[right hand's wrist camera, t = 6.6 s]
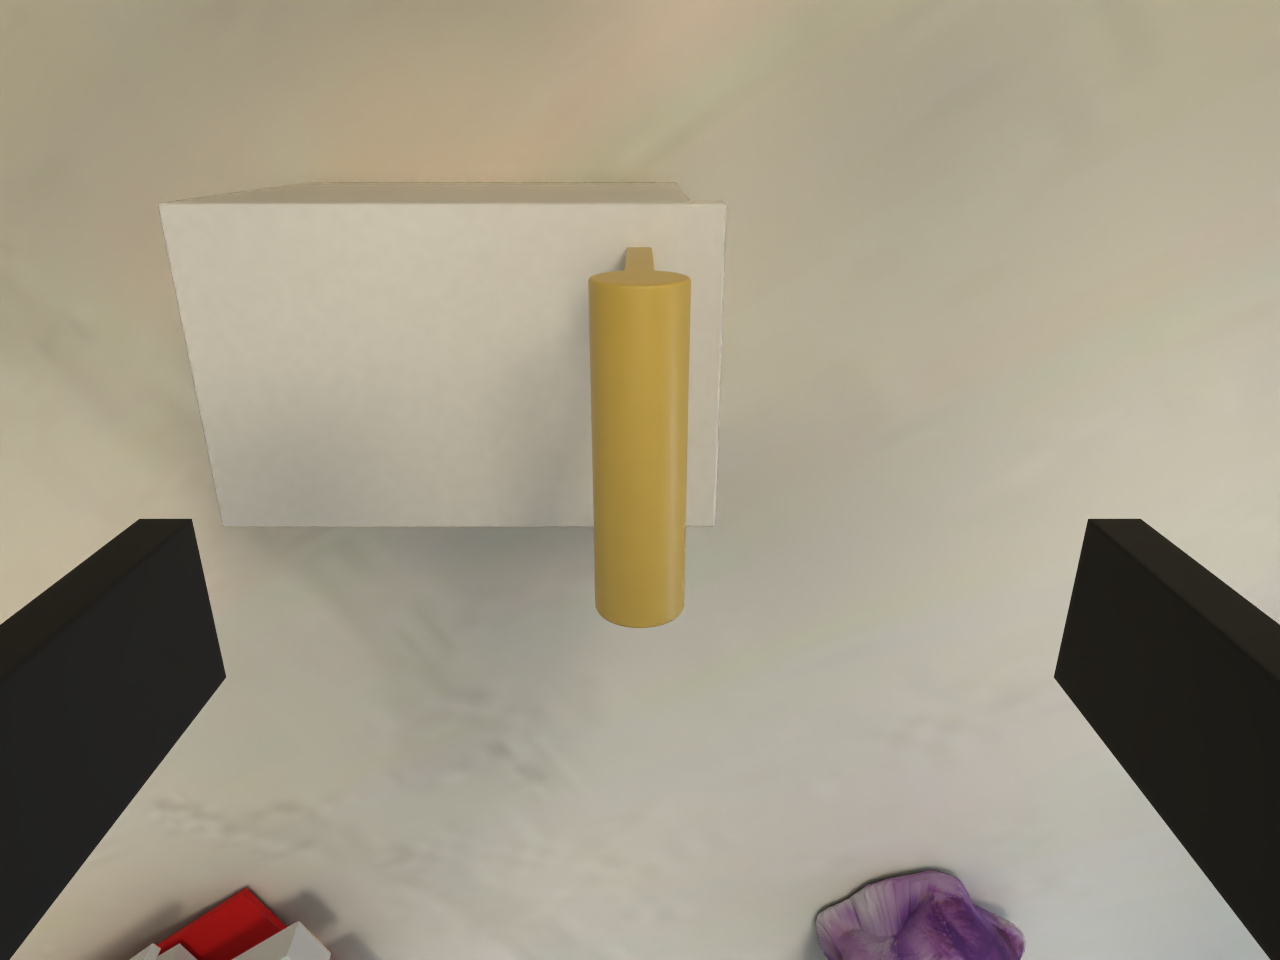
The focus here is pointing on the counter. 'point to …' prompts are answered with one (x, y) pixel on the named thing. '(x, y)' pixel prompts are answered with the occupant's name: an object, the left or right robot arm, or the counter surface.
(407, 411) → the lid
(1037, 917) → the counter surface
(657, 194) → the chest
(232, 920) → the toy
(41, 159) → the counter surface
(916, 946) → the figurine
